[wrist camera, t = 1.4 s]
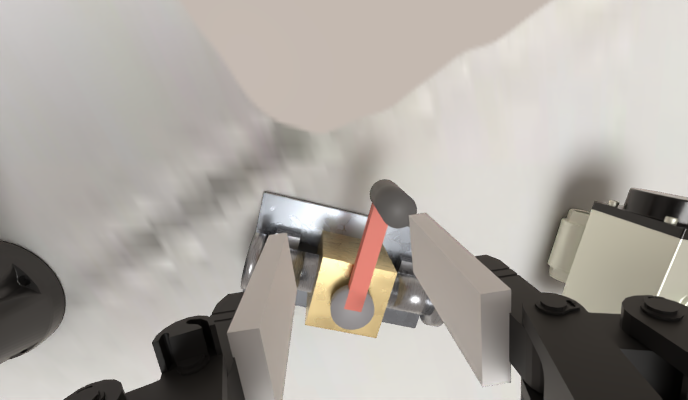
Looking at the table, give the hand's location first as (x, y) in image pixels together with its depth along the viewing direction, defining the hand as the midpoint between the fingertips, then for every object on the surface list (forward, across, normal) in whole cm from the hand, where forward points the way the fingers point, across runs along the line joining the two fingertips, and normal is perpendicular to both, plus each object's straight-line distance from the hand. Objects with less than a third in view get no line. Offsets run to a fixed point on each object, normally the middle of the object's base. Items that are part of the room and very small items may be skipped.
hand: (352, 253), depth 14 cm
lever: (+17, +2, -8) cm, 19 cm away
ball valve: (+27, +31, -15) cm, 43 cm away
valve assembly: (+27, 0, -13) cm, 30 cm away
